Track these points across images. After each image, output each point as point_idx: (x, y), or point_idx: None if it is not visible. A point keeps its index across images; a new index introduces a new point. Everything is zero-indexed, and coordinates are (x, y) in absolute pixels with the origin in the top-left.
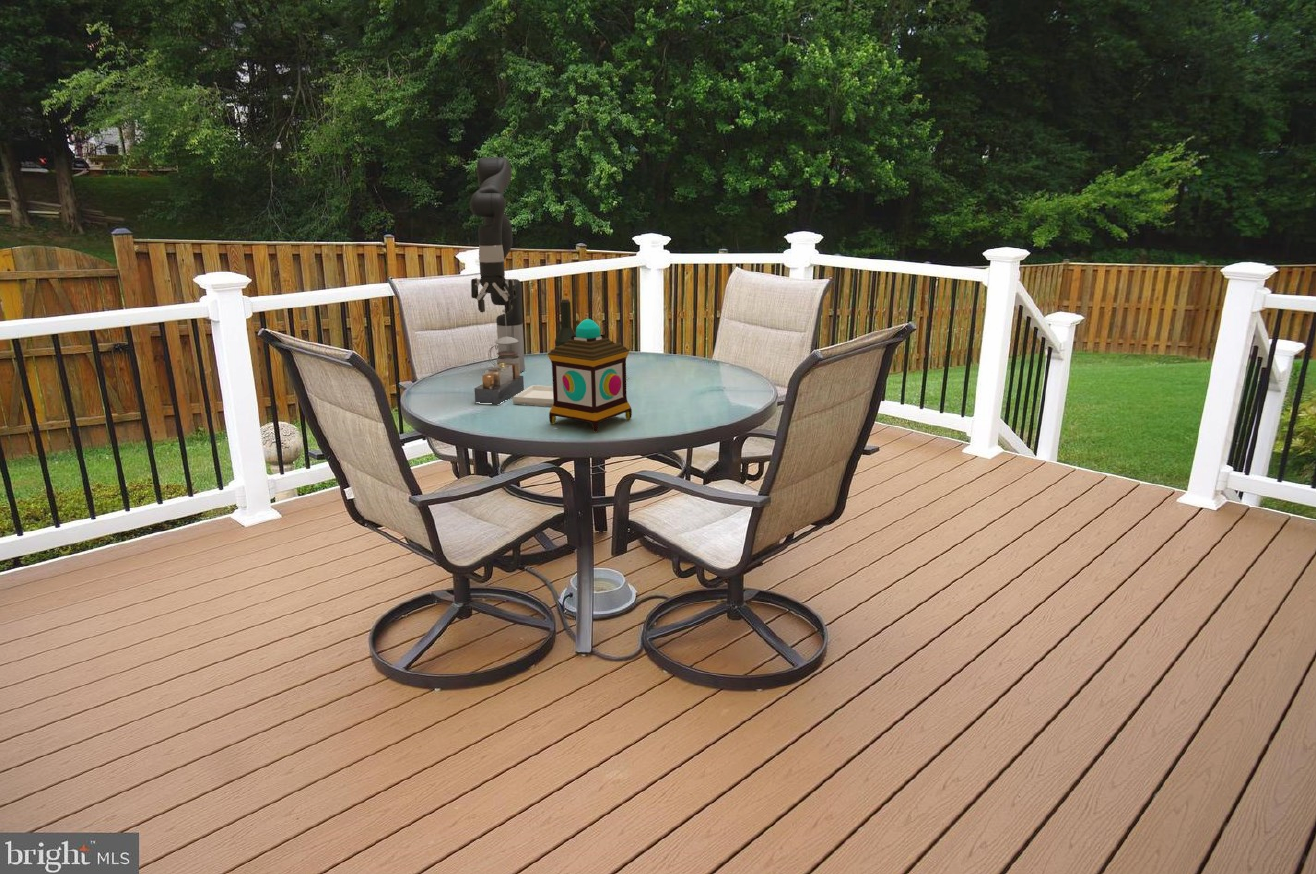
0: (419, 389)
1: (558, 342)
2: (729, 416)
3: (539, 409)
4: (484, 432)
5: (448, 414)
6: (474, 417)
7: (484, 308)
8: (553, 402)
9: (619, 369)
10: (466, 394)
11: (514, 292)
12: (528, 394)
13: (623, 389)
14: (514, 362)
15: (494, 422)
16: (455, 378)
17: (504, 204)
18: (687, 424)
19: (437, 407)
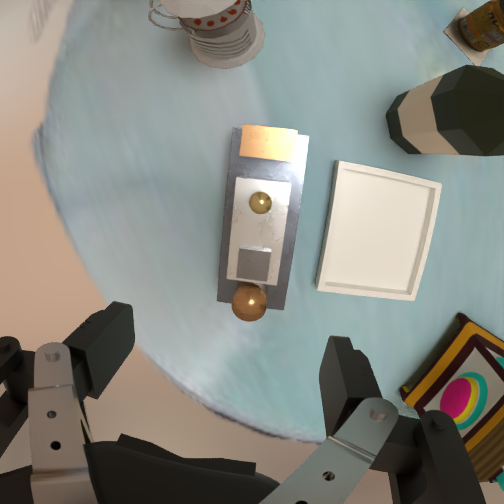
0: (59, 172)
1: (473, 144)
2: None
3: (378, 313)
4: (302, 431)
5: (202, 358)
6: (260, 373)
7: (121, 317)
8: (416, 410)
9: None
10: (167, 198)
11: (448, 462)
12: (338, 215)
13: None
14: (244, 28)
15: (306, 394)
16: (94, 57)
17: None
18: None
19: (157, 313)
